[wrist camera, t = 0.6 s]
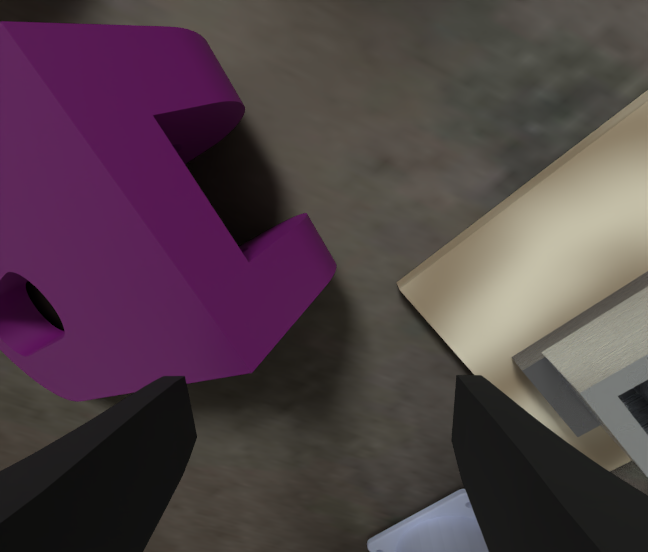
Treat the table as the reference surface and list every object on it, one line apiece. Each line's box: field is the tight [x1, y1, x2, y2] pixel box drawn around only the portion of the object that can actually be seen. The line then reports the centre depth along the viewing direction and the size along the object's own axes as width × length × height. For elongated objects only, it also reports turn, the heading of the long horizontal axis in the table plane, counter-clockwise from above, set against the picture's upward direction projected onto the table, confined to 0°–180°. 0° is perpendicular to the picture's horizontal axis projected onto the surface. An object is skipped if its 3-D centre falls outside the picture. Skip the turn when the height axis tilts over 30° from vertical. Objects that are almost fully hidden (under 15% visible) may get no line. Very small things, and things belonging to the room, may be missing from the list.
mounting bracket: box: [0, 21, 336, 401], centre depth 17 cm, size 10×8×18 cm
